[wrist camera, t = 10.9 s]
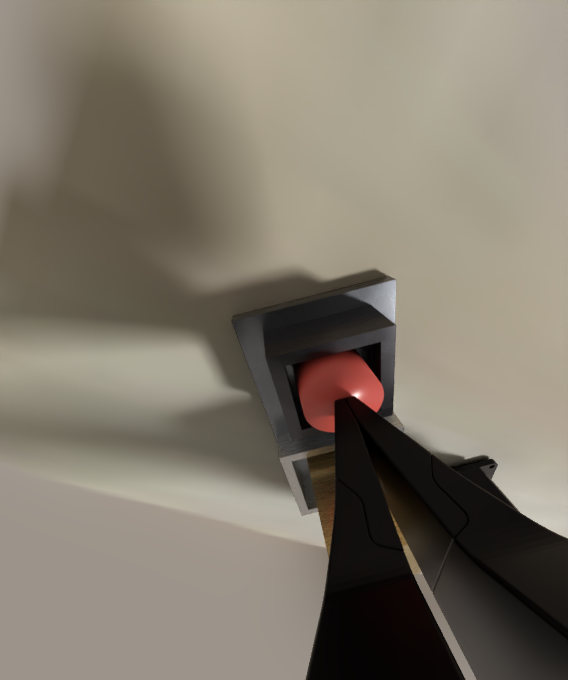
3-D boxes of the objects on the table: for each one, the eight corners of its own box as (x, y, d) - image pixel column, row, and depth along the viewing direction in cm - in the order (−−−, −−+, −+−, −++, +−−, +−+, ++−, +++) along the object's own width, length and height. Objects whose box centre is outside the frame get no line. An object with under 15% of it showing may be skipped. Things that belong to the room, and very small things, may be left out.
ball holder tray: (385, 465, 19) (405, 503, 17) (296, 488, 19) (303, 529, 17) (389, 276, 11) (428, 295, 8) (232, 316, 11) (227, 347, 8)
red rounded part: (360, 383, 13) (383, 421, 10) (299, 398, 13) (310, 440, 10) (356, 330, 11) (384, 361, 9) (286, 348, 11) (296, 384, 9)
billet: (370, 465, 18) (421, 572, 12) (313, 479, 18) (339, 592, 12) (369, 427, 15) (429, 539, 10) (303, 444, 15) (330, 564, 10)
